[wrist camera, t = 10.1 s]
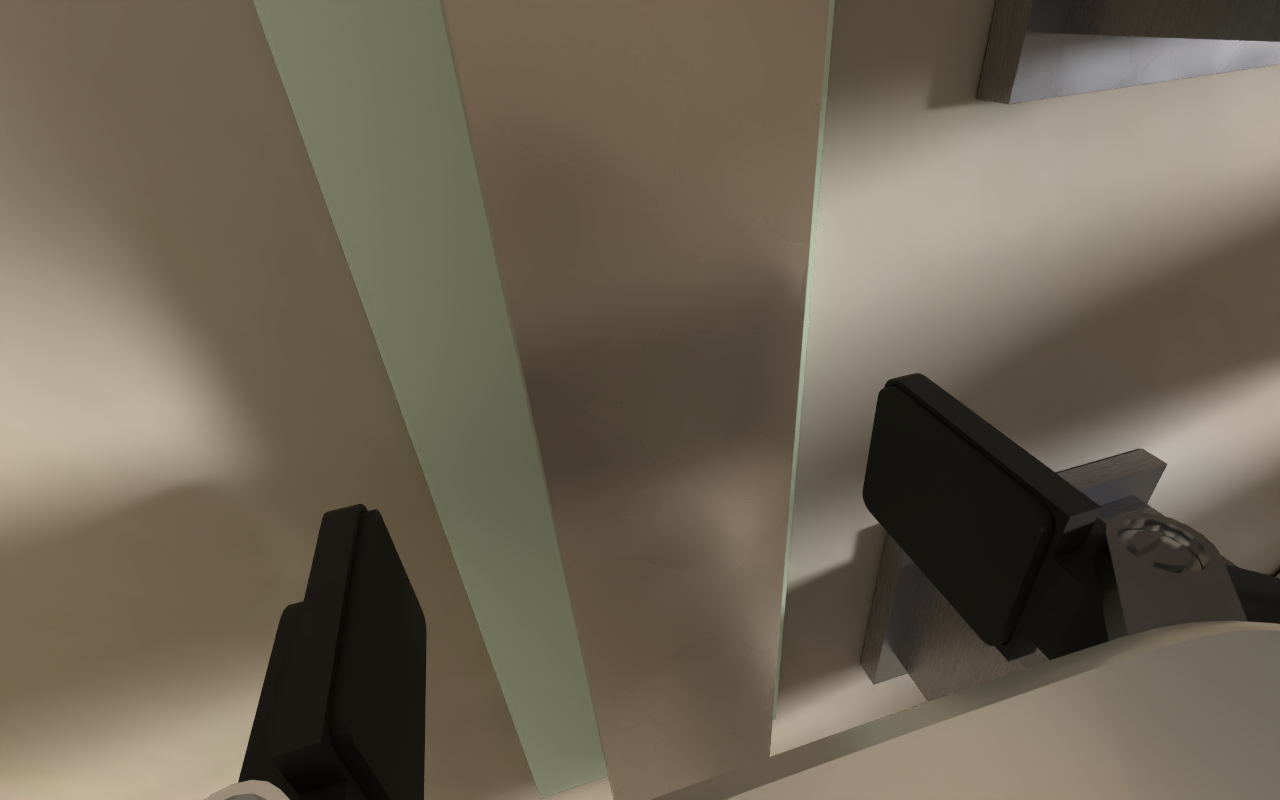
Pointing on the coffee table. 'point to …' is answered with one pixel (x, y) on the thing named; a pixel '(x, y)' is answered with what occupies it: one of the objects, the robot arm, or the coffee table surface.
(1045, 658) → the post
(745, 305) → the rail
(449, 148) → the mat
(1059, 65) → the post
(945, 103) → the coffee table surface
